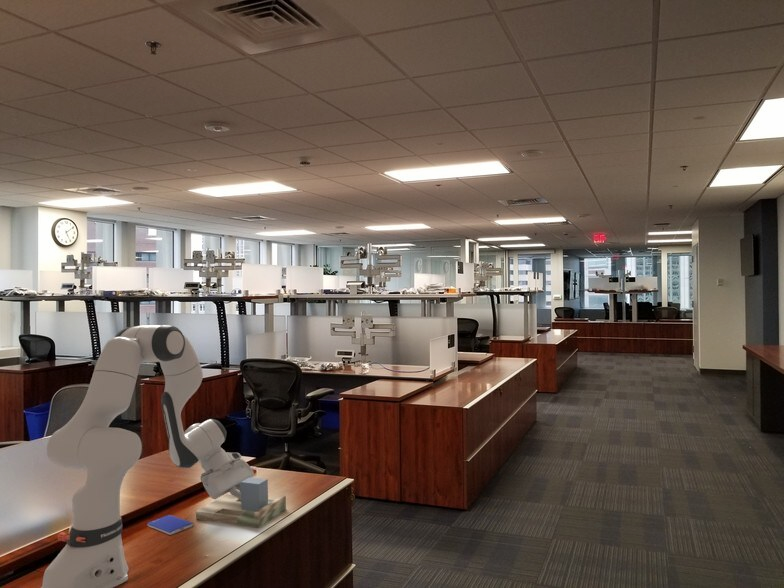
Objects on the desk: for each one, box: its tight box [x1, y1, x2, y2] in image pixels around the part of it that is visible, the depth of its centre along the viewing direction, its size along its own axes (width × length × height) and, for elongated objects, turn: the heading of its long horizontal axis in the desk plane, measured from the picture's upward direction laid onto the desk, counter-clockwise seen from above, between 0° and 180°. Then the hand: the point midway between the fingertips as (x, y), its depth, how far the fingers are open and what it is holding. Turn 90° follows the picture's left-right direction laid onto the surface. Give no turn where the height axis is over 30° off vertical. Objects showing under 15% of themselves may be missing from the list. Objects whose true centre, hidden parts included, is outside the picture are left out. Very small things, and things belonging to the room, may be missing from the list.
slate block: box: [241, 477, 269, 511], centre depth 189 cm, size 5×7×9 cm
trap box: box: [195, 493, 287, 529], centre depth 191 cm, size 16×24×4 cm, turn 69°
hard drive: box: [147, 514, 194, 536], centre depth 183 cm, size 2×8×12 cm
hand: (244, 497), depth 190 cm, fingers closed, pressing on slate block
